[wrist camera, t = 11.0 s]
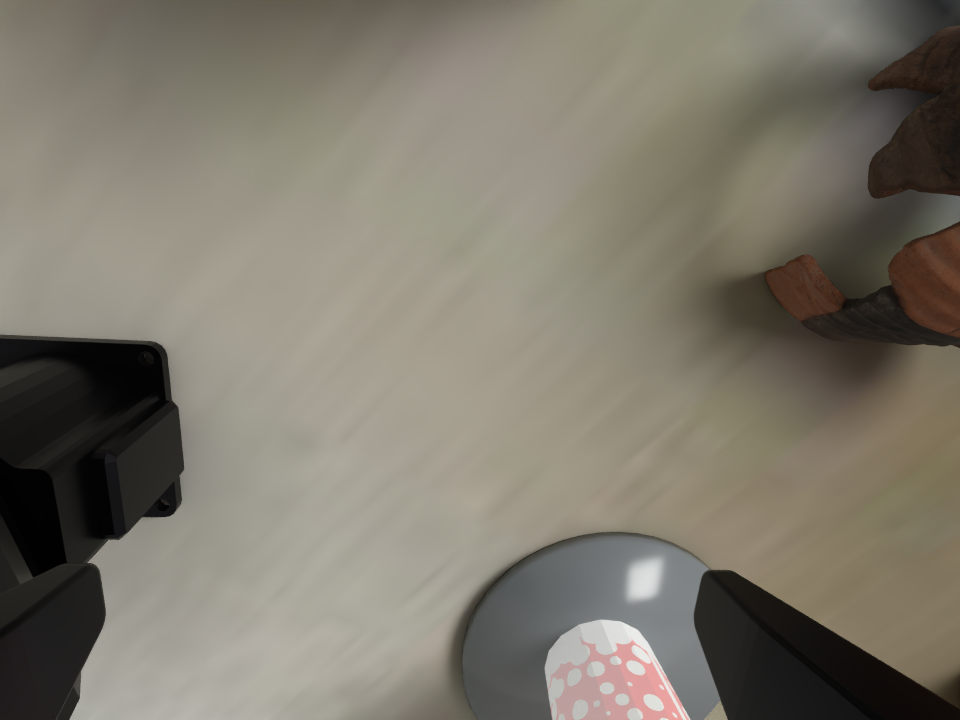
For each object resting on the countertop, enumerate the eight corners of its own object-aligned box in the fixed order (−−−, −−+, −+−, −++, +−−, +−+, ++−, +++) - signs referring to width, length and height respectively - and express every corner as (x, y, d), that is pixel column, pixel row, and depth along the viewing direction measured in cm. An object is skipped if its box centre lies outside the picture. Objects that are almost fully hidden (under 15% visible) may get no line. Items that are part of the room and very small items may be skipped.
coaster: (454, 757, 25) (455, 770, 25) (470, 530, 22) (471, 539, 21) (706, 752, 27) (712, 764, 26) (759, 533, 23) (767, 542, 22)
